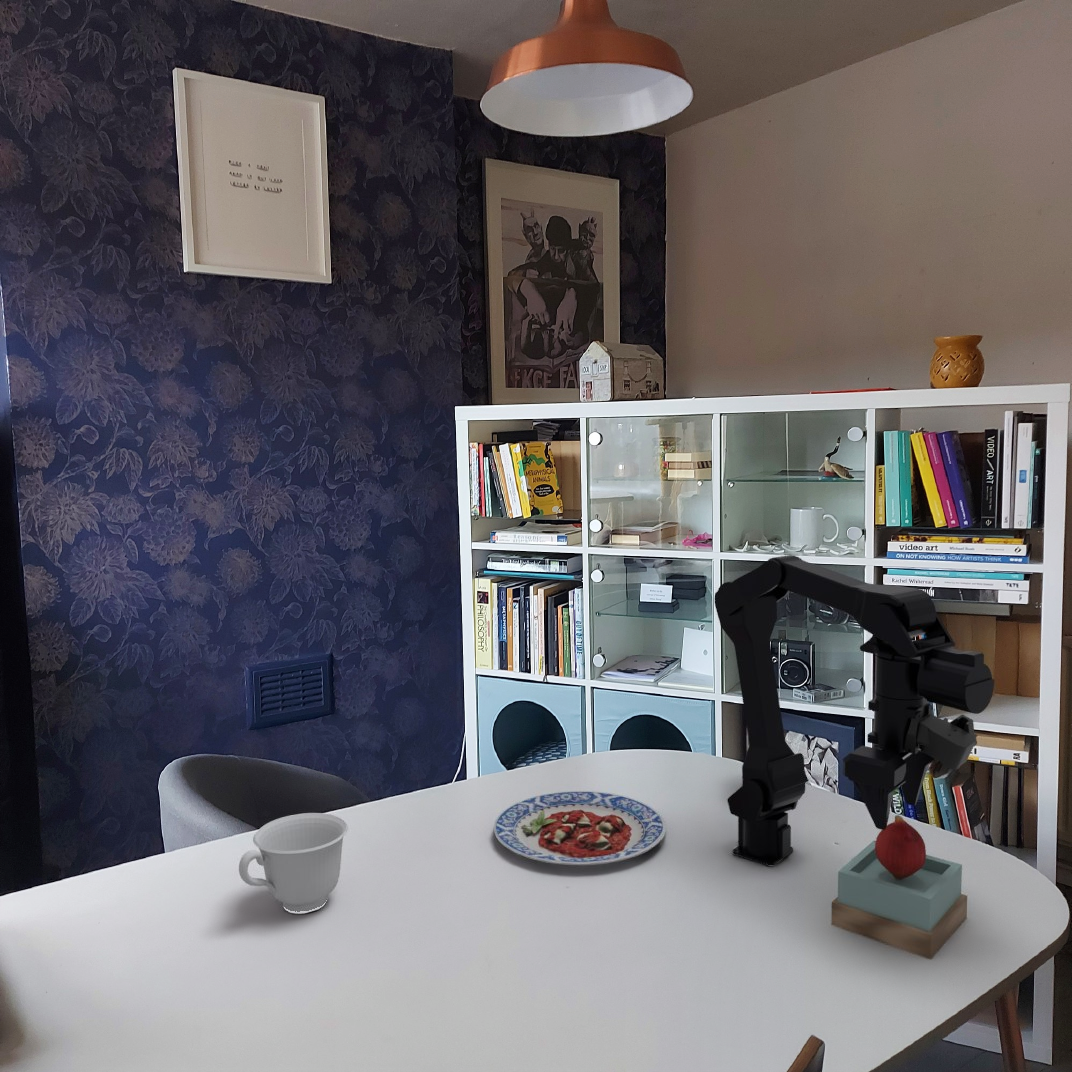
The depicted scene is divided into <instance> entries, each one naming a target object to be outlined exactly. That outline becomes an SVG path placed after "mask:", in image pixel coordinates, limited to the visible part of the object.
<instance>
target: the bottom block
mask: <svg viewBox="0 0 1072 1072" xmlns="http://www.w3.org/2000/svg"><path fill="white" fill-rule="evenodd" d="M967 913H968V895H967V894H963V893H961V896H960V897H959V898H958V899H957V901H956V902H955V903H954V904H953V905H952V907H951V908H950V909H949V910H948V911H947V912H946V914H945V915H944V916H943V917H942V918H941V919H940V921H939V922H938V923H937V924H936V925H935V926H934V928H933V929H932V930H931V931H930V932H927V931H924V930H921V929H918V928H915V927H912V926H909V925H906V924H903V923H900V922H897V921H894V920H891V919H887V918H884V917H881V916H878V915H875V914H872V913H869V912H866V911H863V910H860V909H857V908H854V907H851V906H848V905H845V904H842V903H839V902H838V896H837V897H835V898H834V899H833V900H832V901H831V920H830V921H831V923H830V924H831V926H835V927H837V928H839V929H843V930H846V931H849V932H851V933H854V934H857V935H861V936H863V937H866V938H868V939H871V940H874V941H876V942H880V943H883V944H886V945H889V946H891V947H893V948H897V949H899V950H902V951H905V952H908V953H911V954H913V955H917V956H919V957H922V958H924V959H927V960H932V959H933V958H934V956H935V955H936V954H937V953H938V952H939V950H940V949H941V948H942V947H943V946H944V945H945V944H946V943H947V941H948V940H949V939H950V938H951V937H952V936H953V934H954V933H955V932H956V931H957V929H959V927H960V926H961V925H962V924H963V923H964V922H965V920H966V919H967V918H968V914H967Z"/></svg>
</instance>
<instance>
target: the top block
mask: <svg viewBox="0 0 1072 1072" xmlns="http://www.w3.org/2000/svg"><path fill="white" fill-rule="evenodd" d="M875 843H876V839H874V840H873V841H871V842H870V843H869V844H868V845H866V846H865V847H864V848H863V849H862V850H860V852H859V853H858V854H856V855H855V856H854V857H853V858H851V859H850V860H849V861H848V862H847V863H846V864H845V865H844V866H842V867H841V868H840V869H839V870H838V871H837V897H838V902H839V903H842V904H845V905H848V906H851V907H854V908H857V909H860V910H863V911H866V912H869V913H872V914H875V915H878V916H881V917H884V918H887V919H891V920H894V921H897V922H900V923H903V924H906V925H909V926H912V927H915V928H918V929H921V930H924V931H927V932H930V931H931V930H932V929H933V928H934V926H935V925H936V924H937V923H938V922H939V921H940V919H941V918H942V917H943V916H944V915H945V914H946V912H947V911H948V910H949V909H950V908H951V907H952V905H953V904H954V903H955V902H956V901H957V899H958V898H959V897H960V896H961V894H962V882H963V881H962V877H963V864H961V863H958V862H954V861H951V860H948V859H947V860H946V859H944V858H940V857H935V856H932V855H928V854H926V859H925V863H924V865H923V866H922V868H921V869H920V870H918V871H917V872H916V873H914V874H913V875H911V876H909V877H906V878H903V879H897V878H895V877H894V876H893V875H892V874H891V873H890V872H889V871H888V870H887V869H886V868H885V867H883V866H882V864H881V863H880V862H879V860H878V858H877V856H876V852H875Z"/></svg>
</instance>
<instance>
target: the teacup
mask: <svg viewBox="0 0 1072 1072" xmlns="http://www.w3.org/2000/svg"><path fill="white" fill-rule="evenodd" d="M348 831H349V825H348V823H347V822H346V821H345V820H343V819H342V818H341V817H339V816H337V815H334V814H329V813H325V812H324V813H323V812H306V813H305V812H304V813H298V814H292V815H286V816H283V817H279V818H276V819H274V820H271V821H269V822H267V823H265V824H264V825H263V826H261V827H260V828H259V829H258V830H257V831H256V832H255V834H254V835H253V837H252V838H253V839H252V841H253V844H254V845H255V846H256V848H258V850H259V851H258V850H256V849H251V850H248V851H246V852H245V853H243V855H242V856H241V857H240V860H239V864H238V873H239V876H240V878H241V880H242V882H244V883H245V884H247V885H249V886H254V887H261V886H262V887H266V888H268V891H269V892H270V894H271V895H272V897H274V899H276V900H277V901H279V902H281V903H282V907H283V906H284V907H285V908H286V909H288V910H290V911H295V912H296V911H297V912H300V911H309V910H312V909H315V908H317V907H320V906H322V905H323V904H324V903H325V902H326V900H327V901H328V896H329V895H330V894H331V893H332V892H333V891H334V890H335V888H336V887H337V885H338V882H339V878H340V875H341V864H342V854H343V853H342V850H343V841H344V837H345V836H346V835H347V833H348ZM253 860H255V861H256V863H257V864H258V865H259V866H261V867H263V872H264V876H265V879H264V878H259V877H253V876H251V875H250V874H249V872H248V871H249V869H248V868H249V865H250V863H251V862H252V861H253Z"/></svg>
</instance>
